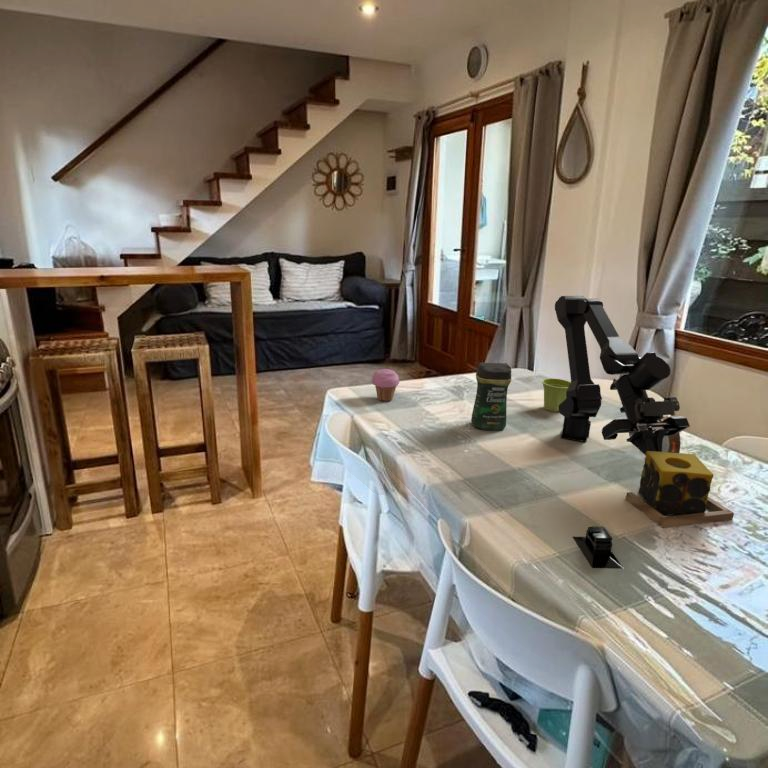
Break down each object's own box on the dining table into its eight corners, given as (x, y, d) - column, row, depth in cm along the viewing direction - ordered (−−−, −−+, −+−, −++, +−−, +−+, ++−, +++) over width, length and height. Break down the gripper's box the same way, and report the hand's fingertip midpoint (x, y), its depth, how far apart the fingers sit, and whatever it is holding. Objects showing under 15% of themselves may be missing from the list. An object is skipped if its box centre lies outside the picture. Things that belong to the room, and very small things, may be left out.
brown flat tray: (625, 498, 114) (626, 492, 113) (690, 492, 117) (691, 486, 117) (662, 527, 103) (664, 520, 103) (732, 519, 107) (734, 512, 107)
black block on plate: (564, 534, 101) (567, 513, 100) (602, 534, 101) (606, 513, 100) (590, 576, 89) (594, 553, 88) (633, 576, 89) (637, 553, 88)
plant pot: (573, 407, 169) (576, 381, 166) (565, 416, 161) (569, 389, 158) (543, 402, 173) (547, 376, 171) (534, 409, 166) (538, 383, 163)
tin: (678, 464, 131) (685, 433, 129) (664, 463, 132) (671, 431, 129) (660, 440, 145) (666, 412, 143) (648, 439, 146) (654, 410, 143)
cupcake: (398, 404, 166) (399, 373, 163) (370, 403, 166) (371, 372, 163) (398, 395, 175) (399, 366, 172) (371, 394, 175) (372, 365, 172)
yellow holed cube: (685, 495, 116) (695, 453, 113) (705, 519, 107) (716, 475, 104) (637, 490, 118) (645, 449, 115) (652, 514, 108) (661, 470, 105)
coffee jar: (474, 431, 147) (480, 366, 142) (468, 420, 155) (474, 359, 149) (509, 431, 148) (516, 367, 142) (501, 421, 156) (507, 359, 150)
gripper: (619, 384, 113) (644, 454, 106) (693, 382, 117) (722, 449, 110) (591, 406, 122) (612, 471, 116) (660, 403, 127) (685, 466, 120)
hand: (658, 464), depth 115 cm, fingers closed
